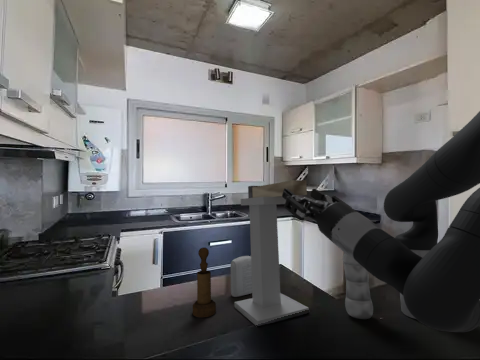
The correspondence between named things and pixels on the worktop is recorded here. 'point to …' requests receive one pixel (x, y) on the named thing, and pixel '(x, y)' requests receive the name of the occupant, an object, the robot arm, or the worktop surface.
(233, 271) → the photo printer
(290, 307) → the stand
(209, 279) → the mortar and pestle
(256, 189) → the birch bar
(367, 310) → the plastic bottle
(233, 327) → the worktop surface
